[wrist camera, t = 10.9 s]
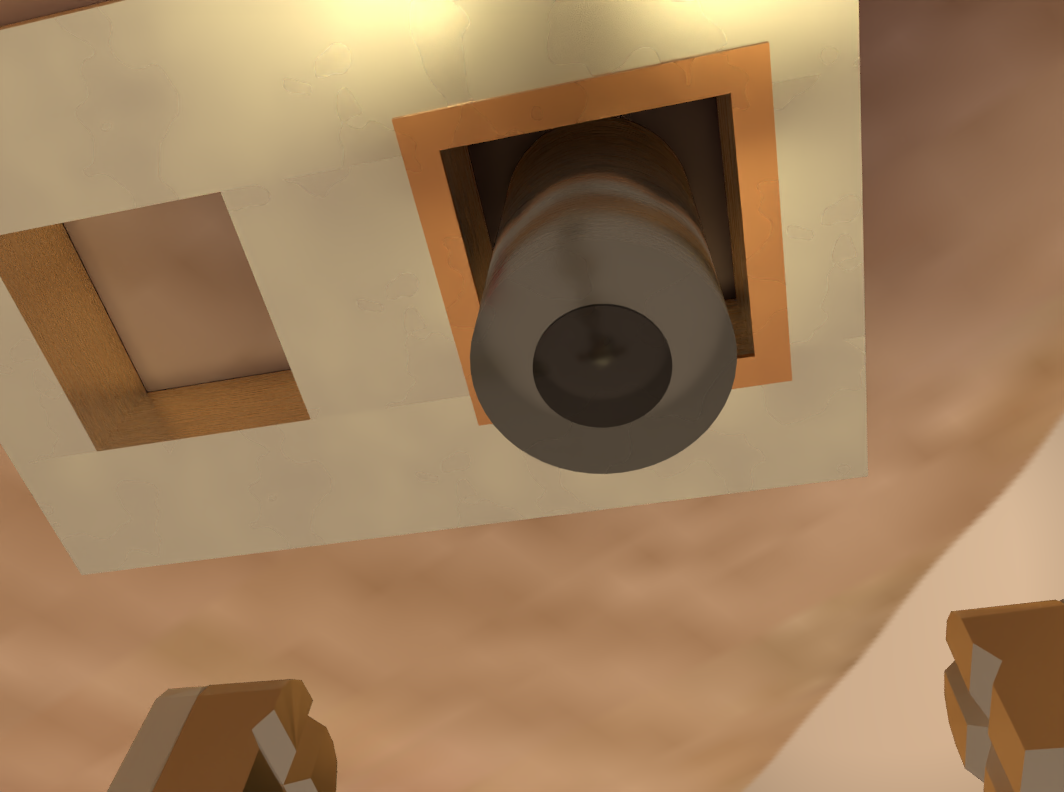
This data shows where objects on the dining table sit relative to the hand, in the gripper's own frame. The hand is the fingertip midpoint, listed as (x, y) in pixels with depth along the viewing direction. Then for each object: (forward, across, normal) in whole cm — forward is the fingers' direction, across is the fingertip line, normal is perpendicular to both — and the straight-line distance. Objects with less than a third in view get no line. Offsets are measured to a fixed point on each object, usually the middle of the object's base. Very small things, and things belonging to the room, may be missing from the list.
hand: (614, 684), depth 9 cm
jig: (+15, +6, 0) cm, 16 cm away
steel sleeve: (+15, 0, 0) cm, 15 cm away
